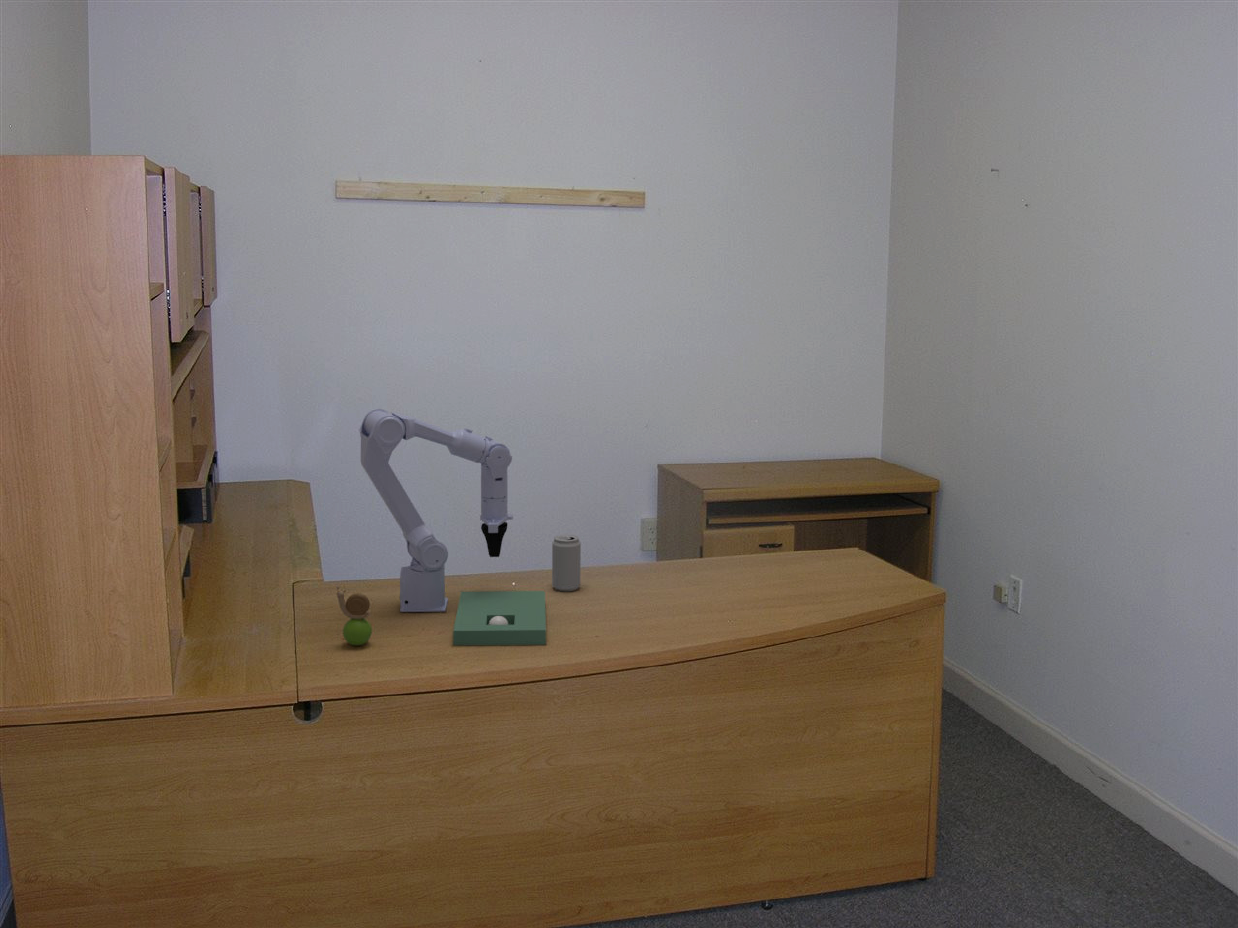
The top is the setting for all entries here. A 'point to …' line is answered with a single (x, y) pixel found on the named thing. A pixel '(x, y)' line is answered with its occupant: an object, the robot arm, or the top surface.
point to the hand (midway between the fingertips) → (494, 556)
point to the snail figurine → (355, 618)
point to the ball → (498, 621)
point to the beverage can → (566, 562)
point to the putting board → (512, 605)
